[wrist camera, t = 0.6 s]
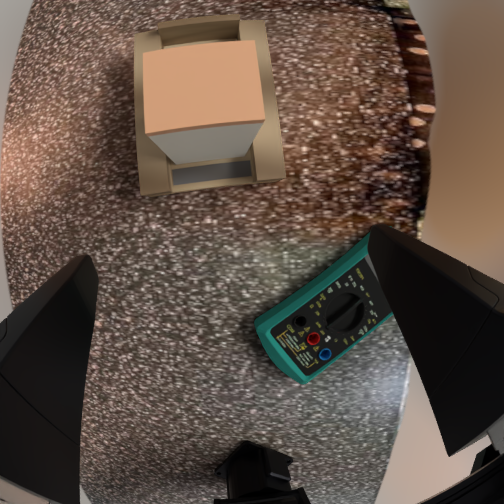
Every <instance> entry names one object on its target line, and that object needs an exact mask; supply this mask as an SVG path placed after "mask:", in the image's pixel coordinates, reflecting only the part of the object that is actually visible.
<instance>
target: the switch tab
mask: <svg viewBox="0 0 504 504" xmlns="http://www.w3.org/2000/svg"><path fill="white" fill-rule="evenodd" d="M143 96H144V120H145V134H146V135H147V136H148V137H149V138H150V139H151V140H152V141H153V142H154V143H155V144H156V145H157V146H158V147H159V148H160V149H161V150H162V151H163V152H164V153H165V154H166V155H167V156H168V157H169V158H170V159H171V160H172V161H173V162H174V163H175V164H176V165H177V164H184V163H192V162H200V161H208V160H216V159H225V158H235V157H244V156H245V155H246V153H247V151H248V149H249V147H250V146H251V144H252V142H253V140H254V139H255V137H256V135H257V133H258V131H259V130H260V128H261V126H262V125H263V123H264V121H265V112H264V104H263V96H262V88H261V81H260V74H259V66H258V59H257V52H256V45H255V40H246V41H228V42H215V43H205V44H196V45H188V46H180V47H174V48H167V49H161V50H156V51H150V52H145V53H143Z"/></svg>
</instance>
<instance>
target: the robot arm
mask: <svg viewBox="0 0 504 504" xmlns="http://www.w3.org/2000/svg"><path fill="white" fill-rule="evenodd" d="M367 250H368V254H369V257H370V259H371V262H372V265H373V267H374V270H375V273H376V275H377V278H378V281H379V284H380V286H381V289H382V291H383V293H384V295H385V297H386V300H387V302H388V304H389V306H390V308H391V310H392V312H393V314H394V317H395V319H396V321H397V323H398V325H399V328H400V330H401V332H402V334H403V337H404V339H405V341H406V344H407V346H408V348H409V351H410V353H411V355H412V358H413V360H414V362H415V365H416V367H417V370H418V372H419V375H420V377H421V380H422V383H423V385H424V388H425V390H426V393H427V396H428V398H429V401H430V404H431V407H432V410H433V413H434V415H435V418H436V421H437V424H438V427H439V430H440V433H441V436H442V439H443V442H444V445H445V448H446V451H447V454H448V456H449V457H450V456H452V455H454V454H455V453H458V452H459V451H461V450H463V449H465V448H466V447H468V446H470V445H472V444H473V443H475V442H477V441H478V440H480V439H482V438H483V437H485V436H486V435H488V436H489V439H490V441H491V443H492V444H491V445H489V446H488V447H486V448H485V449H484V450H482V451H481V452H479V453H478V454H477V455H476V458H475V461H474V464H473V467H472V471H471V473H470V475H469V476H468V477H466V478H465V479H463V480H461V481H460V482H458V483H456V484H454V485H453V486H451V487H449V488H447V489H445V490H443V491H441V492H439V493H438V494H436V495H434V496H432V497H430V498H428V499H426V500H424V501H422V502H419V503H417V504H504V284H503V283H501V282H499V281H497V280H495V279H493V278H490V277H489V276H487V275H485V274H483V273H481V272H480V271H478V270H476V269H474V268H472V267H470V266H467V265H466V264H464V263H463V262H461V261H459V260H457V259H455V258H453V257H451V256H449V255H447V254H445V253H443V252H441V251H439V250H437V249H435V248H433V247H431V246H429V245H427V244H425V243H423V242H421V241H419V240H417V239H415V238H413V237H411V236H409V235H407V234H405V233H403V232H401V231H398V230H396V229H394V228H392V227H390V226H388V225H385V224H375V225H373V226H372V227H371V230H370V235H369V240H368V245H367ZM98 283H99V279H98V274H97V272H96V269H95V267H94V264H93V262H92V259H91V257H90V256H89V255H79V256H76V257H75V258H74V259H73V260H71V261H70V262H69V263H68V264H66V265H65V266H64V267H63V268H62V269H60V270H59V271H58V272H57V273H56V274H54V275H53V276H52V277H51V278H50V279H49V280H47V281H46V282H45V283H44V284H43V285H42V286H40V287H39V288H38V289H37V290H36V291H35V292H34V293H32V294H31V295H30V296H29V297H28V298H27V299H26V300H25V301H24V302H22V303H21V304H20V305H19V306H18V307H17V308H16V309H15V310H14V311H13V312H12V313H11V314H9V315H8V316H7V318H6V319H4V320H3V321H2V322H1V323H0V504H80V489H79V488H80V486H79V469H80V435H81V420H82V408H83V398H84V389H85V381H86V373H87V366H88V359H89V352H90V346H91V340H92V334H93V329H94V323H95V313H96V302H97V292H98ZM246 445H249V446H246ZM288 460H289V461H288ZM292 462H293V459H292V457H290V456H287V455H284V454H283V453H280V452H277V451H274V450H272V449H269V448H266V447H263V446H260V445H258V444H255V443H253V442H251V441H245V442H243V443H242V444H241V445H240V446H239V447H238V448H237V449H236V450H235V451H234V452H233V453H232V454H231V455H230V456H229V457H228V458H227V459H226V460H225V461H224V462H223V463H222V464H221V465H220V466H218V467H217V468H216V469H215V470H214V474H215V475H216V476H219V477H221V478H224V479H226V483H227V496H228V499H214V504H311V503H310V501H309V499H308V497H307V495H306V493H305V491H304V489H303V487H301V488H297V489H295V490H291V486H290V483H289V481H290V480H291V477H290V474H289V470H288V466H289V465H290V464H291V463H292Z"/></svg>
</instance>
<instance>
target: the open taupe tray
mask: <svg viewBox="0 0 504 504" xmlns="http://www.w3.org/2000/svg"><path fill="white" fill-rule="evenodd" d="M246 40H255V45H256V52H257V59H258V66H259V74H260V81H261V88H262V96H263V104H264V112H265V121H264V123H263V125H262V126H261V128H260V130H259V131H258V133H257V135H256V137H255V139H254V140H253V142H252V144H251V146H250V147H249V149H248V151H247V153H246V155H245V156H244V157H235V158H225V159H216V160H208V161H200V162H192V163H184V164H177V165H176V164H175V163H174V162H173V161H172V160H171V159H170V158H169V157H168V156H167V155H166V154H165V153H164V152H163V151H162V150H161V149H160V148H159V147H158V146H157V145H156V144H155V143H154V142H153V141H152V140H151V139H150V138H149V137H148V136H147V135H146V134H145V120H144V96H143V53H145V52H150V51H156V50H161V49H167V48H174V47H180V46H188V45H196V44H205V43H215V42H228V41H246ZM134 106H135V130H136V147H137V160H138V172H139V183H140V193H141V196H149V197H153V196H160V195H167V194H174V193H181V192H188V191H196V190H204V189H212V188H220V187H229V186H238V185H247V184H257V183H268V182H277V181H280V180H282V179H285V178H286V173H285V164H284V156H283V147H282V139H281V131H280V123H279V116H278V108H277V101H276V94H275V87H274V80H273V73H272V66H271V60H270V53H269V47H268V41H267V35H266V28H265V23H264V20H244V21H240V16H239V14H231V15H216V16H205V17H195V18H187V19H180V20H173V21H166V22H160V23H158V30H153V31H148V32H143V33H138V34H135V36H134Z"/></svg>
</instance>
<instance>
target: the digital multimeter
mask: <svg viewBox="0 0 504 504" xmlns="http://www.w3.org/2000/svg"><path fill="white" fill-rule="evenodd" d="M390 227H391V226H390ZM369 235H370V232H369V233H368V234H367V235H366V236H365V237H364V238H363V239H362V240H360V241H359V242H358V243H357V244H356V245H355V246H354V247H353V248H351V249H350V250H349V251H348V252H347V253H346V254H345V255H343V256H342V257H341V258H340V259H338V260H337V261H336V262H335V263H333V264H332V265H331V266H330V267H328V268H327V269H326V270H325V271H323V272H322V273H321V274H320V275H318V276H317V277H316V278H315V279H313V280H312V281H310V282H309V283H308V284H306V285H305V286H303V287H302V288H301V289H299V290H298V291H296V292H295V293H294V294H292V295H291V296H289V297H288V298H286V299H285V300H284V301H282V302H281V303H279V304H278V305H276V306H275V307H273V308H272V309H270V310H268V311H267V312H265V313H264V314H262V315H261V316H259V317H258V318H256V319H255V321H254V325H255V329H256V332H257V334H258V336H259V338H260V341H261V343H262V345H263V347H264V349H265V351H266V352H267V354H268V356H269V357H270V359H271V360H272V361H273V362H274V364H275V365H276V366H277V367H278V368H279V369H280V370H281V371H283V372H284V373H285V374H286V375H288V376H289V377H291V378H292V379H294V380H295V381H297V382H298V383H300V384H306V383H308V382H309V381H310V380H312V379H313V378H314V377H316V376H317V375H318V374H319V373H321V372H322V371H323V370H325V369H326V368H327V367H328V366H330V365H331V364H332V363H333V362H335V361H336V360H337V359H338V358H340V357H341V356H342V355H344V354H345V353H346V352H347V351H349V350H350V349H351V348H352V347H353V346H355V345H356V344H357V343H358V342H360V341H361V340H362V339H363V338H365V337H366V336H367V335H368V334H370V333H371V332H372V331H373V330H375V329H376V328H377V327H378V326H380V325H381V324H382V323H383V322H384V321H386V320H387V319H388V318H389V317H391V316H392V315H393V312H392V310H391V308H390V306H389V304H388V302H387V300H386V297H385V295H384V293H383V291H382V289H381V286H380V284H379V281H378V278H377V275H376V273H375V270H374V267H373V265H372V262H371V259H370V257H369V254H368V250H367V245H368V240H369ZM361 259H362V260H361ZM356 263H357V264H356ZM351 267H352V268H351ZM346 271H347V272H346ZM341 275H342V276H341ZM336 279H337V280H336ZM332 282H333V283H332ZM331 283H332V284H331ZM327 286H328V287H327ZM323 289H324V290H323ZM322 290H323V291H322ZM318 293H319V294H318ZM314 296H315V297H314ZM310 299H311V300H310ZM306 302H307V303H306ZM302 305H303V306H302ZM298 308H299V309H298ZM286 317H287V318H286ZM279 322H280V323H279ZM275 325H276V326H275ZM348 333H349V334H348ZM276 341H277V342H276ZM290 358H291V359H290ZM295 364H296V365H295Z"/></svg>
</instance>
